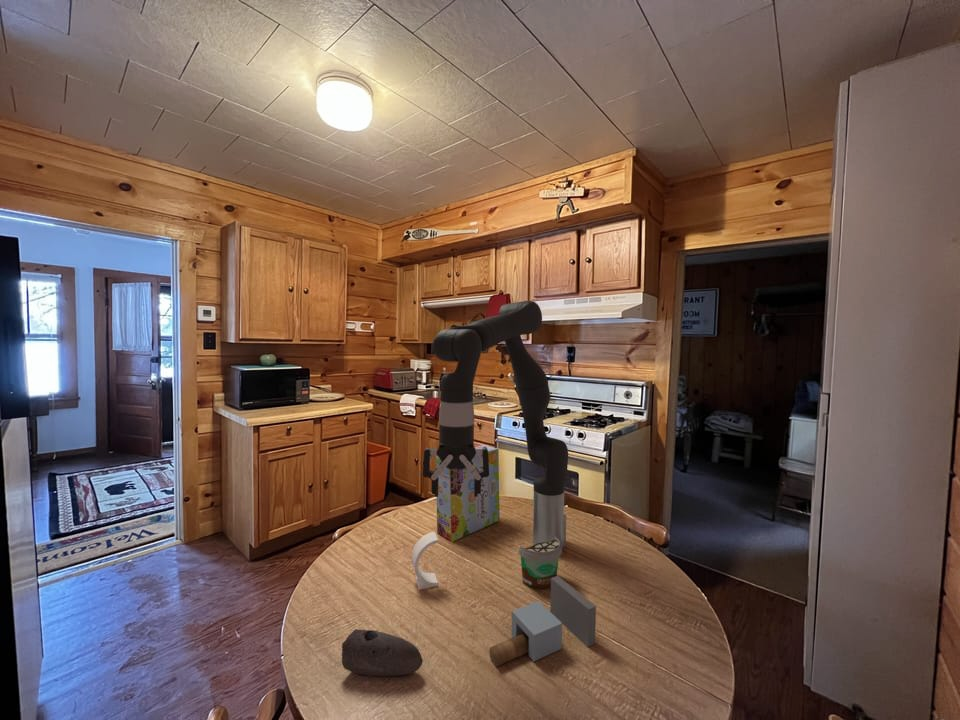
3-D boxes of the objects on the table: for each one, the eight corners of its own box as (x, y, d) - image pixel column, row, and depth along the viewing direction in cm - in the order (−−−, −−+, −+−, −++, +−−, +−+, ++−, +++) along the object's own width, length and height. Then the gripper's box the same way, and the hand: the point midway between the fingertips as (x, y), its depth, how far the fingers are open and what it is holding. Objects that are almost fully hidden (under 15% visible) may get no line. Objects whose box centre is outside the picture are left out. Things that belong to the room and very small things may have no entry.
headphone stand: (438, 585, 101) (438, 539, 100) (414, 590, 99) (414, 543, 98) (434, 575, 105) (434, 531, 104) (411, 580, 103) (411, 535, 102)
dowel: (521, 640, 82) (524, 629, 81) (530, 655, 79) (533, 643, 78) (488, 655, 78) (490, 643, 77) (496, 670, 75) (498, 658, 74)
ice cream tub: (531, 598, 96) (532, 558, 96) (517, 584, 101) (518, 546, 101) (571, 584, 102) (572, 546, 101) (556, 571, 107) (556, 535, 107)
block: (538, 624, 87) (538, 600, 87) (561, 648, 80) (562, 623, 80) (511, 635, 83) (511, 611, 83) (533, 661, 77) (534, 635, 76)
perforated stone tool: (426, 665, 76) (426, 630, 76) (418, 688, 71) (418, 651, 70) (352, 656, 78) (351, 622, 78) (339, 678, 73) (339, 642, 72)
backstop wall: (557, 609, 92) (557, 575, 92) (595, 643, 82) (595, 606, 81) (550, 611, 91) (550, 578, 91) (587, 647, 81) (588, 609, 80)
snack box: (483, 513, 143) (484, 443, 142) (500, 522, 137) (501, 448, 135) (434, 533, 128) (434, 454, 127) (451, 543, 122) (451, 461, 121)
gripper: (488, 418, 89) (487, 489, 90) (425, 418, 89) (425, 489, 90) (490, 425, 82) (489, 502, 82) (421, 425, 81) (421, 502, 82)
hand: (456, 495), depth 86 cm, fingers open, 8 cm apart
